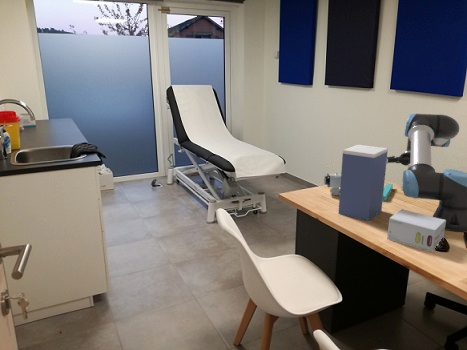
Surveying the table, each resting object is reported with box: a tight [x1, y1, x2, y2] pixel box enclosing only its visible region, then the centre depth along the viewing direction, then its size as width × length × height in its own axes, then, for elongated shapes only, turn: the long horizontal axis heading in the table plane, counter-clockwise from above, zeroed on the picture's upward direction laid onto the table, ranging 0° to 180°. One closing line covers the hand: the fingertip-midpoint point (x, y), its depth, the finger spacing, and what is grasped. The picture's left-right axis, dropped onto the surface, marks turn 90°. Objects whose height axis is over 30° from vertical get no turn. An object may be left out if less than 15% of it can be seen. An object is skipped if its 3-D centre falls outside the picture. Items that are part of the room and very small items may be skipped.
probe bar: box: [382, 183, 394, 202], centre depth 204 cm, size 24×3×3 cm, turn 150°
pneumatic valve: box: [323, 172, 341, 196], centre depth 203 cm, size 6×12×12 cm, turn 88°
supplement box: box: [386, 208, 446, 253], centre depth 149 cm, size 17×13×9 cm
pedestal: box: [338, 144, 389, 222], centre depth 176 cm, size 16×14×30 cm
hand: (395, 165), depth 210 cm, fingers open, 13 cm apart
